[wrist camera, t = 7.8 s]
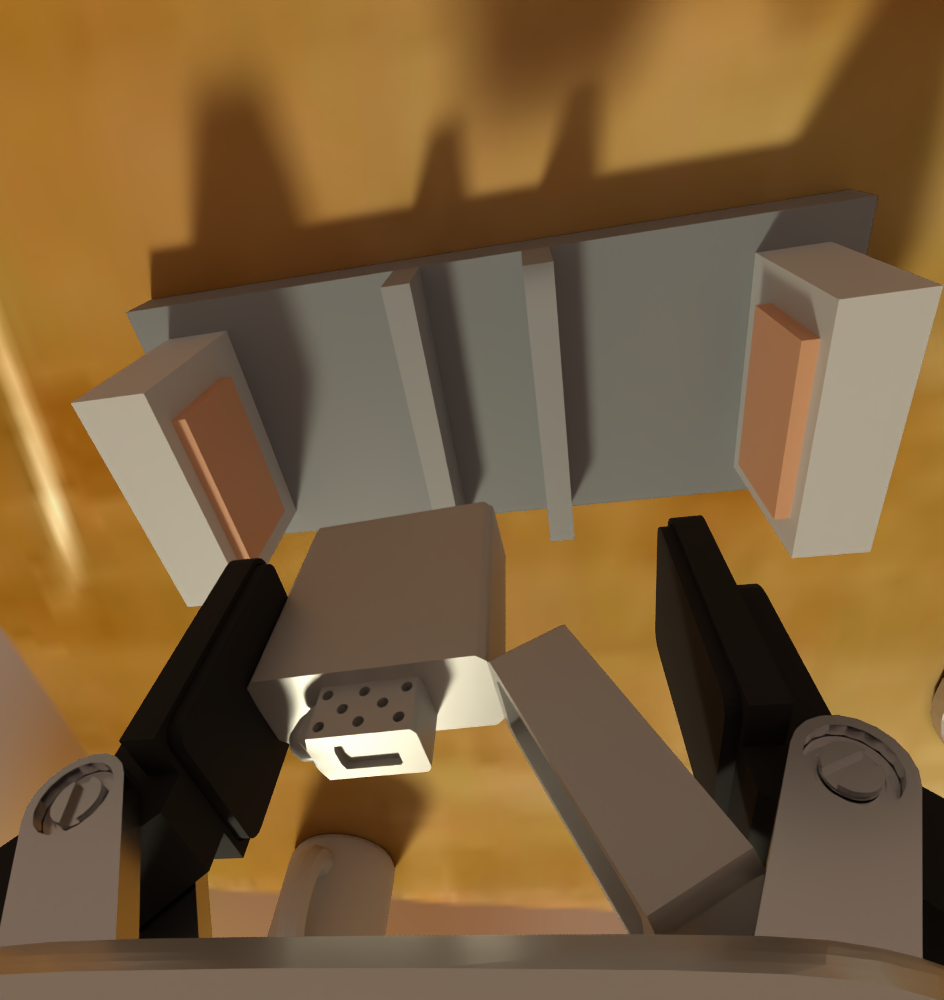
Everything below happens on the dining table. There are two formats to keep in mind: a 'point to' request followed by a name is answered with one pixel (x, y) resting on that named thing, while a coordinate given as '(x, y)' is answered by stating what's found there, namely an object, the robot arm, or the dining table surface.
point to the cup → (335, 889)
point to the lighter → (494, 710)
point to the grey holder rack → (528, 385)
